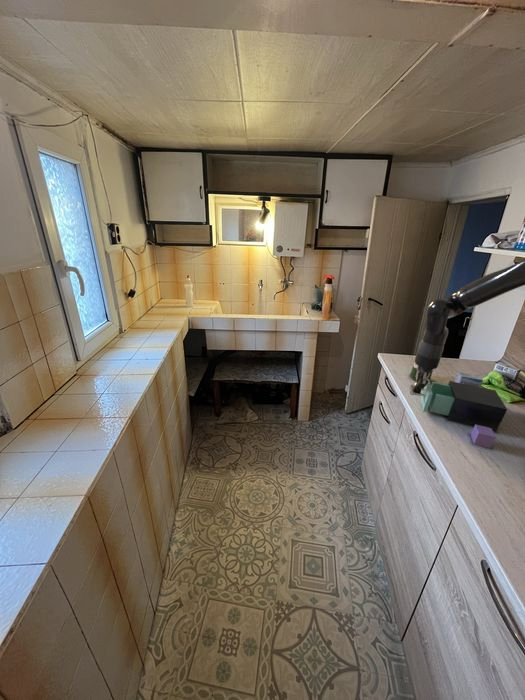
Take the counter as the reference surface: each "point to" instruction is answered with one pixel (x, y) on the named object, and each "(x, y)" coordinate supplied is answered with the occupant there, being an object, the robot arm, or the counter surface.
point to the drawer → (435, 397)
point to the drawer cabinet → (476, 406)
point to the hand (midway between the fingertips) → (416, 393)
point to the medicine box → (469, 379)
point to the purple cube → (483, 436)
